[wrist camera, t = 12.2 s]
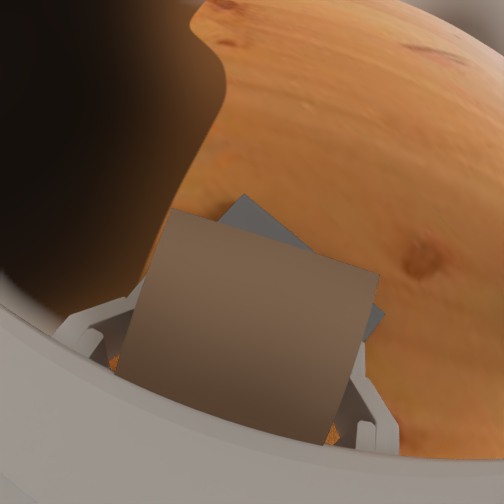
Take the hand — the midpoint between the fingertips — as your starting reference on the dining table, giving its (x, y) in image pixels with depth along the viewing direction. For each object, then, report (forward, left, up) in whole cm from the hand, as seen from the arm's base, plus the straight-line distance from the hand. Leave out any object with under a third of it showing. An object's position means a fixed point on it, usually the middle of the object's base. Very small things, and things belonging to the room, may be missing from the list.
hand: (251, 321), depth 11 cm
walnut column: (+1, 0, -5) cm, 5 cm away
